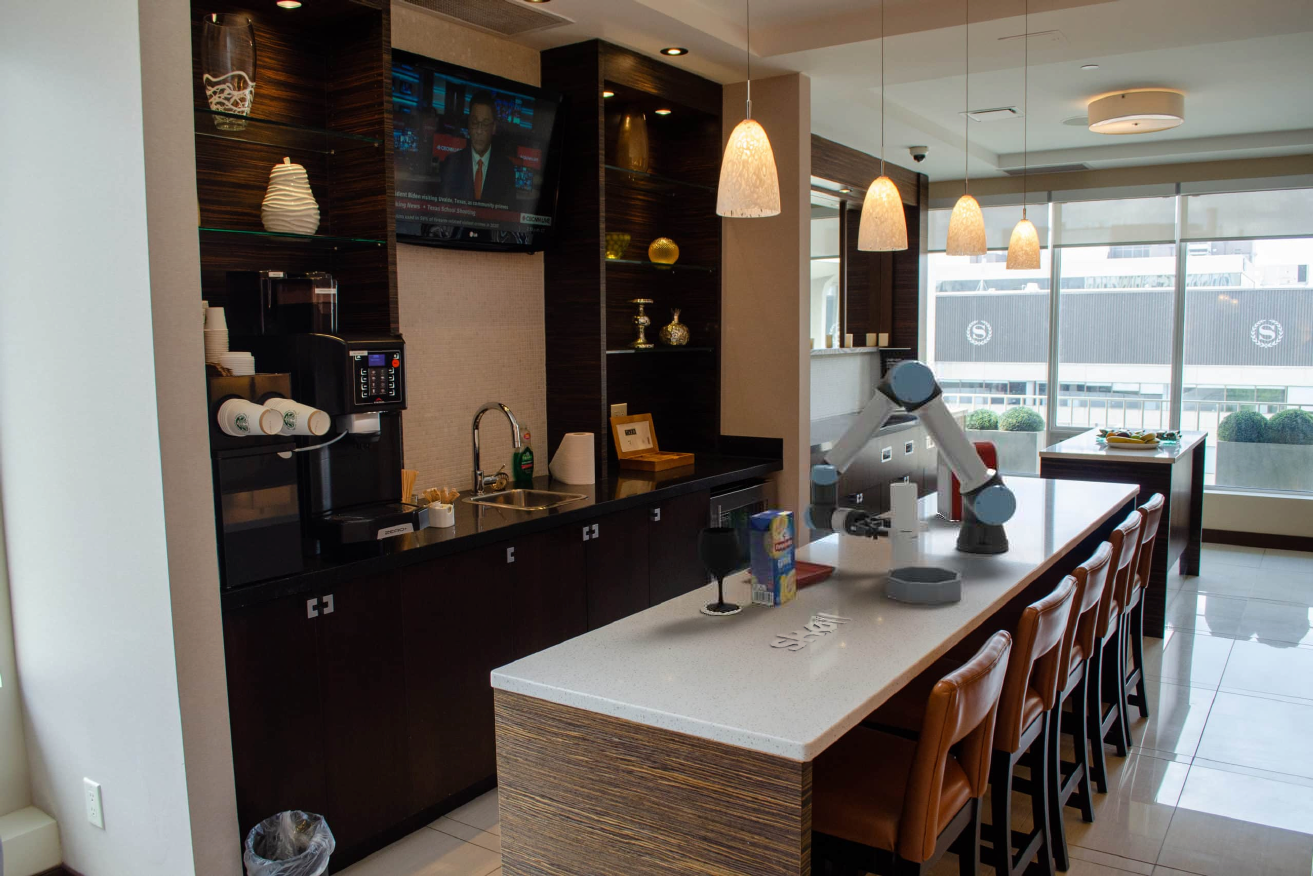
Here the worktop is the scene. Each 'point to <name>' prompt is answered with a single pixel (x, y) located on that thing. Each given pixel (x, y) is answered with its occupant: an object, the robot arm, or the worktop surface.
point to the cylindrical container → (904, 524)
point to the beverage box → (772, 557)
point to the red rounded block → (950, 485)
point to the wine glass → (719, 559)
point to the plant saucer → (809, 572)
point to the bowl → (924, 585)
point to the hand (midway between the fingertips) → (914, 531)
